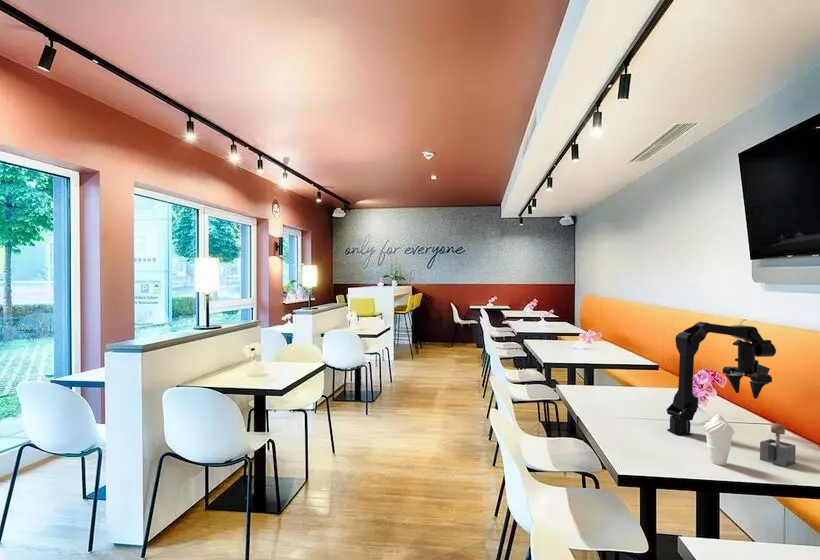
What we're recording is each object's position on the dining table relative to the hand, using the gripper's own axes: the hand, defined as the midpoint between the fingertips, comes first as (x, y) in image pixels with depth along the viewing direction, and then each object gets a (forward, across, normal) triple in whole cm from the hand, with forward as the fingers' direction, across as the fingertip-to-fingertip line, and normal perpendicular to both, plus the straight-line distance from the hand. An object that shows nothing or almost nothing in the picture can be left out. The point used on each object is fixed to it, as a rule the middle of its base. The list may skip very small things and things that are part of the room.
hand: (746, 395), depth 187 cm
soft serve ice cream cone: (+15, -30, +36) cm, 49 cm away
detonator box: (+15, -30, +14) cm, 36 cm away
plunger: (+10, -30, +14) cm, 34 cm away
